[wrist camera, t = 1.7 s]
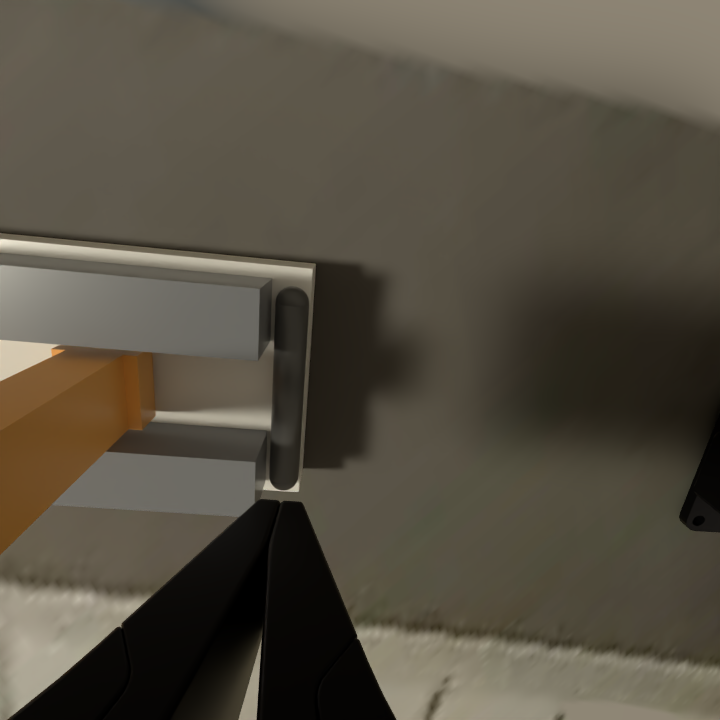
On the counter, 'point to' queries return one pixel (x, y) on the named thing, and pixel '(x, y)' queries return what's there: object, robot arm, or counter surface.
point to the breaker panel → (174, 364)
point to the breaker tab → (65, 424)
